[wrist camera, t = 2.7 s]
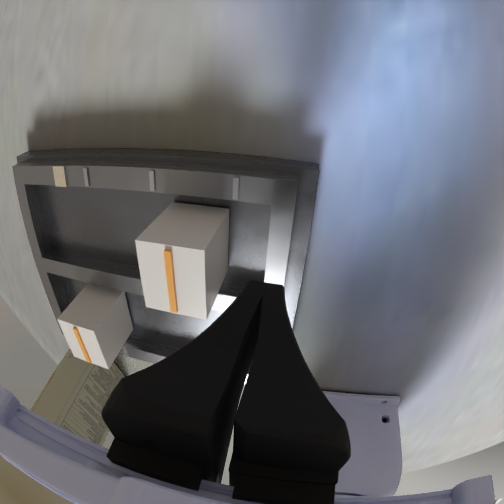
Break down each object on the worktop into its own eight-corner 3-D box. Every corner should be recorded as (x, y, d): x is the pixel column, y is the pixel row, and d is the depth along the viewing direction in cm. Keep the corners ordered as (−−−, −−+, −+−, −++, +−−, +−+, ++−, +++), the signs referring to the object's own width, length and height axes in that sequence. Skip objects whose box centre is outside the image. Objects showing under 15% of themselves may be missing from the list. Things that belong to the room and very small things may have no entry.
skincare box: (72, 341, 27) (10, 434, 17) (101, 342, 26) (36, 449, 16) (104, 383, 30) (56, 471, 20) (134, 387, 29) (86, 485, 18)
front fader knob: (229, 208, 15) (203, 252, 12) (227, 270, 17) (205, 322, 14) (172, 202, 16) (133, 241, 12) (176, 261, 18) (144, 309, 14)
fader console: (319, 163, 15) (320, 179, 13) (283, 366, 23) (279, 393, 21) (28, 151, 17) (3, 162, 15) (70, 316, 25) (55, 334, 23)
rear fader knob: (124, 290, 20) (92, 333, 16) (133, 329, 22) (108, 371, 18) (88, 282, 20) (56, 320, 17) (100, 319, 22) (73, 357, 18)
